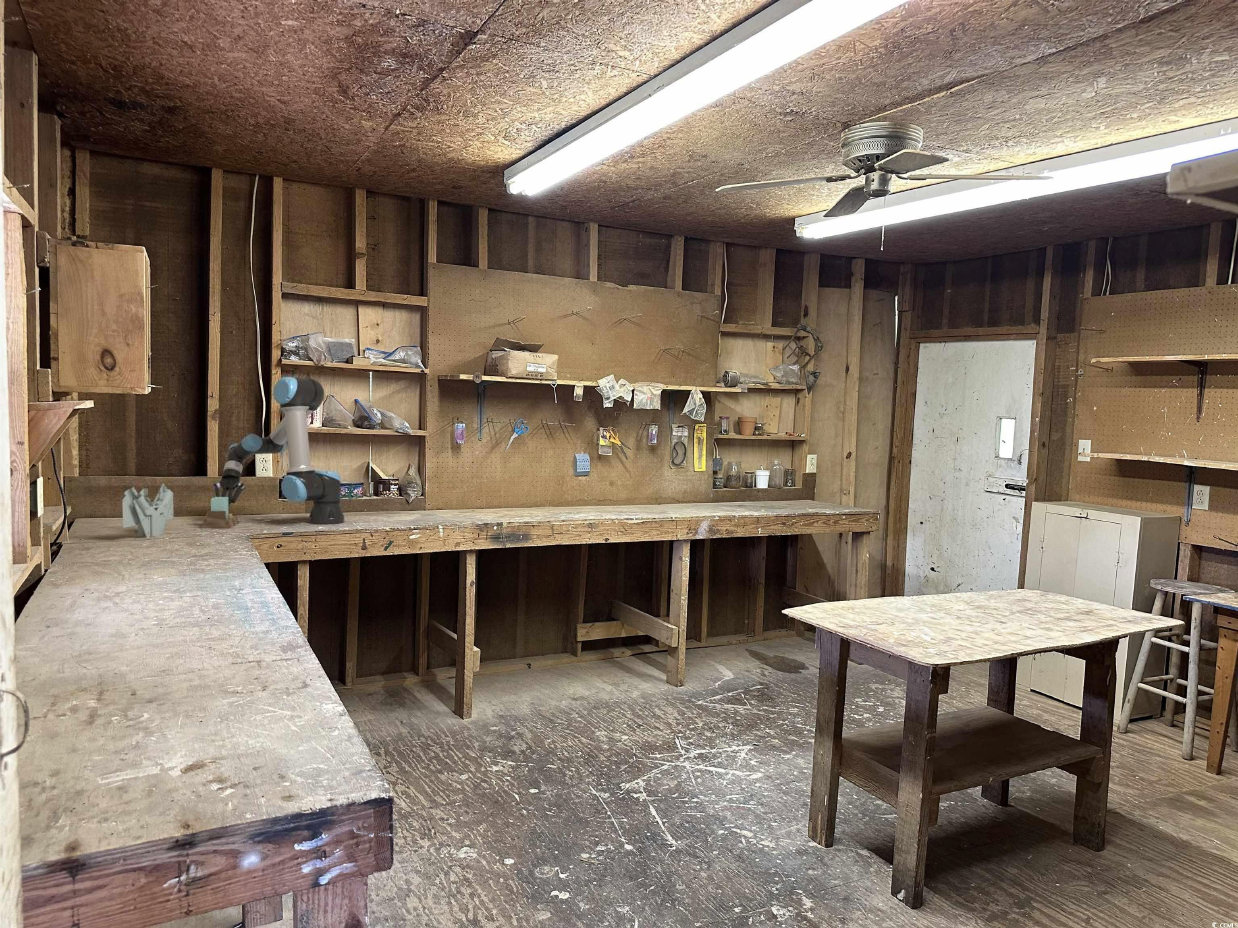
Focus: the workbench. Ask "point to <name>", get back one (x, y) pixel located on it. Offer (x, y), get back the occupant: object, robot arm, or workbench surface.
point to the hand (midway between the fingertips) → (222, 514)
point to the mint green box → (220, 504)
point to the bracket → (147, 511)
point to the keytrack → (219, 520)
